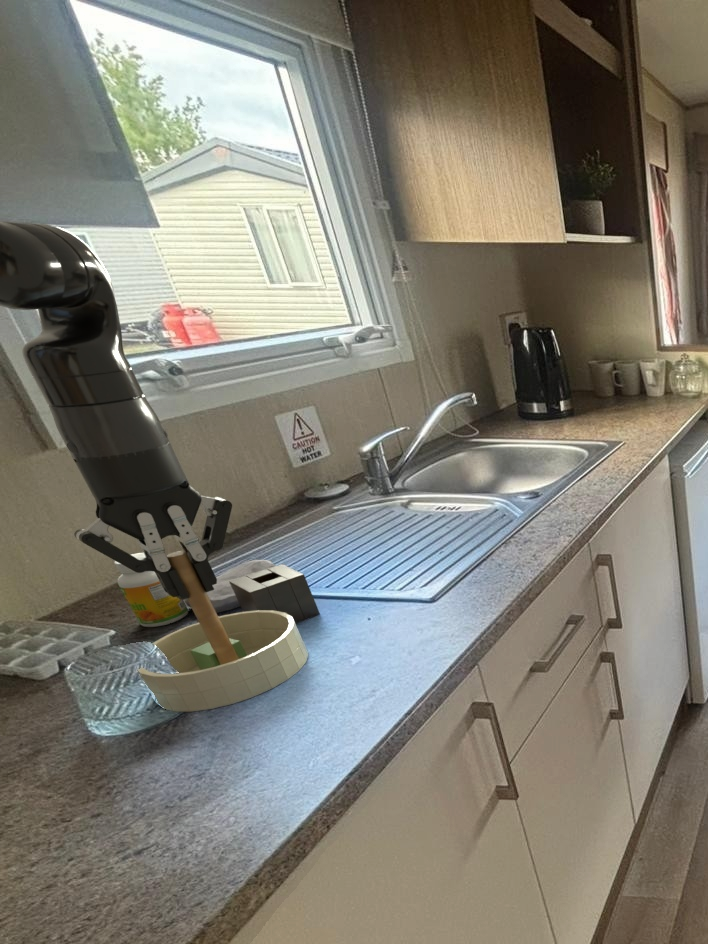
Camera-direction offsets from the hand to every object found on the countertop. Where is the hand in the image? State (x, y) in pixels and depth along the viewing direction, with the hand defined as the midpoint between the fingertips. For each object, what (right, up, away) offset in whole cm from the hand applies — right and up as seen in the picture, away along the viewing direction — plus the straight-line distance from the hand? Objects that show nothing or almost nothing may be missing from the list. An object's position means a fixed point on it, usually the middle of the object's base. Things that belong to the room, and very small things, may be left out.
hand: (194, 593), depth 76 cm
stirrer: (0, -9, +5) cm, 11 cm away
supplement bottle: (-23, -4, +20) cm, 30 cm away
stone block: (-15, -1, +25) cm, 29 cm away
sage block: (-2, -10, +7) cm, 12 cm away
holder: (-4, -4, +19) cm, 20 cm away
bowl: (0, -11, +6) cm, 12 cm away
